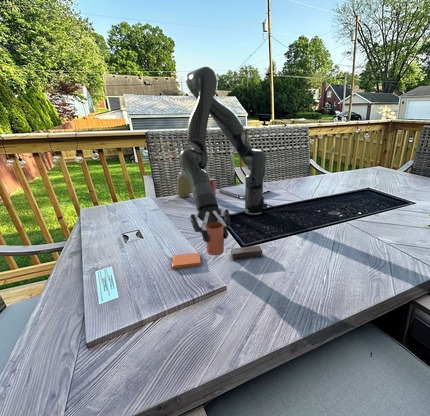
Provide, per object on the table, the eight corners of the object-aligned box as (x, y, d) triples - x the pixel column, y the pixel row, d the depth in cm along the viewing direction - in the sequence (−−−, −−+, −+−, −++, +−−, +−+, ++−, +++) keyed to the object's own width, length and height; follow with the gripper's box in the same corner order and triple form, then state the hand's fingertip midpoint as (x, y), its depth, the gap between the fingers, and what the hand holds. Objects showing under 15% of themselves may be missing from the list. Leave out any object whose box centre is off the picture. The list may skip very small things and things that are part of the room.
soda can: (212, 200, 157) (212, 180, 153) (202, 198, 158) (201, 179, 154) (217, 196, 163) (217, 178, 159) (207, 195, 165) (206, 177, 161)
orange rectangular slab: (199, 255, 96) (199, 252, 95) (200, 265, 89) (200, 262, 89) (173, 258, 93) (173, 255, 92) (172, 268, 87) (172, 265, 86)
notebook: (250, 185, 194) (219, 191, 174) (250, 182, 193) (219, 188, 173) (271, 191, 181) (241, 199, 161) (271, 188, 180) (241, 195, 160)
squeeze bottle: (193, 195, 164) (192, 166, 158) (185, 198, 157) (183, 169, 151) (182, 193, 166) (180, 165, 160) (174, 196, 159) (172, 167, 153)
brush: (259, 251, 100) (259, 245, 99) (262, 257, 97) (262, 250, 96) (230, 255, 97) (230, 248, 96) (232, 260, 93) (232, 253, 92)
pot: (222, 246, 96) (222, 221, 93) (224, 254, 91) (224, 228, 88) (206, 248, 94) (205, 222, 91) (207, 256, 89) (206, 229, 86)
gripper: (186, 194, 88) (198, 240, 83) (225, 190, 96) (239, 232, 90) (182, 204, 94) (194, 248, 89) (220, 199, 102) (233, 239, 96)
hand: (216, 239), depth 90 cm, fingers closed on pot, 6 cm apart
